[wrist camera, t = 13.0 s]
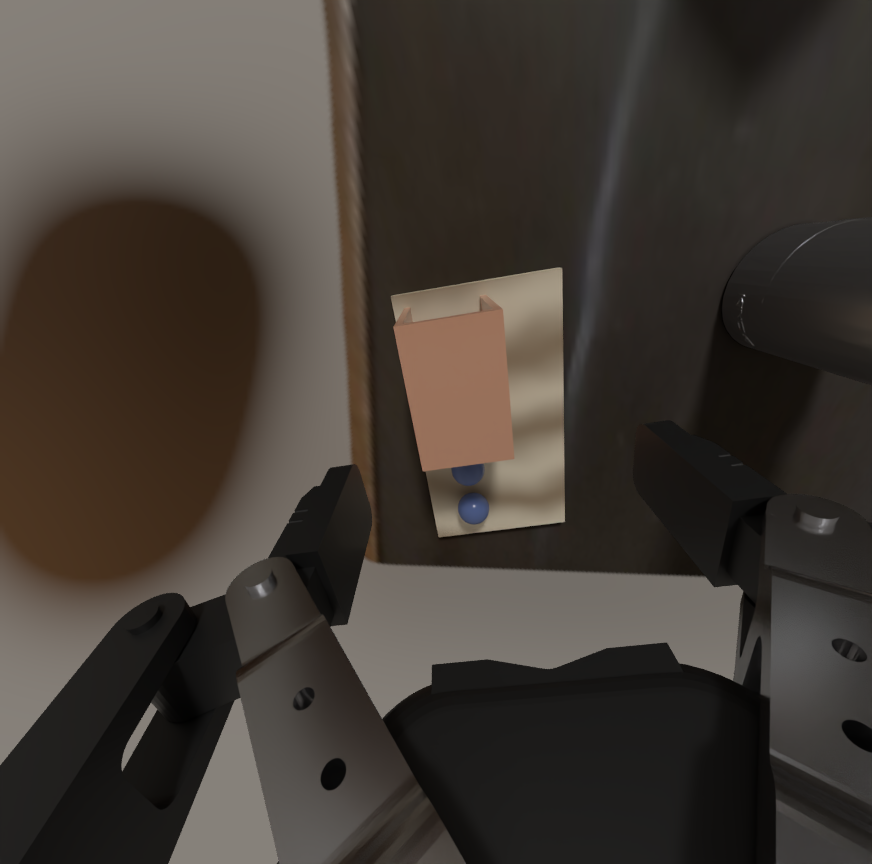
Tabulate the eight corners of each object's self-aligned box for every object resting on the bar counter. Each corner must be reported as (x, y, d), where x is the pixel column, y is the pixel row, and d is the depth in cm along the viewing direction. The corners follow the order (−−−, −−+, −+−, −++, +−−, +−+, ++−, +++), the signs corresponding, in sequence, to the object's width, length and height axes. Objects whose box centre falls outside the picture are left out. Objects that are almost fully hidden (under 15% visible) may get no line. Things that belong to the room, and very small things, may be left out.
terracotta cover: (404, 308, 29) (393, 327, 22) (486, 294, 29) (503, 309, 21) (425, 423, 33) (422, 471, 26) (497, 413, 33) (514, 459, 26)
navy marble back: (479, 481, 36) (482, 500, 33) (492, 503, 37) (496, 523, 34) (451, 493, 37) (452, 513, 34) (465, 515, 38) (467, 535, 35)
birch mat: (392, 295, 30) (390, 296, 29) (558, 267, 29) (562, 267, 28) (438, 530, 40) (438, 537, 39) (561, 515, 39) (564, 521, 38)
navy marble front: (473, 441, 34) (477, 457, 31) (488, 466, 35) (492, 483, 33) (444, 455, 35) (445, 472, 32) (459, 479, 36) (461, 497, 33)
